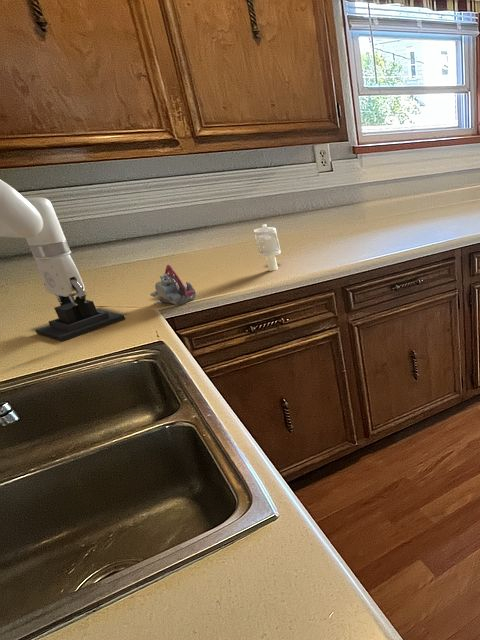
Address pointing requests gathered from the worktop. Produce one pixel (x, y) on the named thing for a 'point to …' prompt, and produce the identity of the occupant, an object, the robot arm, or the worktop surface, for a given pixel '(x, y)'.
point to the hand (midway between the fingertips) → (78, 316)
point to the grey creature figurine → (173, 289)
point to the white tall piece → (268, 245)
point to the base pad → (79, 325)
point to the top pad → (72, 312)
